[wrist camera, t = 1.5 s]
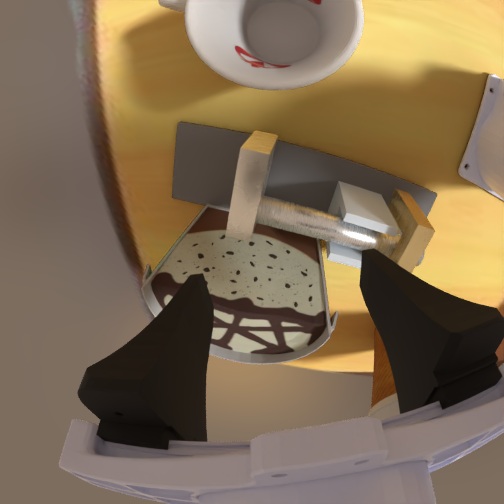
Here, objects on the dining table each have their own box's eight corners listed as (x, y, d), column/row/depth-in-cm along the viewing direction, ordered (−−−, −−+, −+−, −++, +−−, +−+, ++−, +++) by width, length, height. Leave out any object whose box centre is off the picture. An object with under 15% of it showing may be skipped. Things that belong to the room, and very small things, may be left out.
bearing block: (337, 178, 21) (346, 212, 16) (380, 192, 21) (398, 229, 16) (324, 218, 23) (327, 259, 18) (364, 230, 23) (375, 272, 18)
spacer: (395, 188, 19) (418, 224, 14) (409, 193, 19) (435, 230, 14) (366, 252, 22) (376, 298, 18) (379, 256, 22) (392, 302, 18)
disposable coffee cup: (357, 356, 32) (360, 445, 23) (364, 302, 27) (375, 412, 18) (427, 349, 30) (442, 433, 21) (447, 295, 25) (479, 393, 15)
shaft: (255, 130, 19) (240, 147, 15) (425, 183, 18) (451, 214, 14) (241, 201, 22) (225, 236, 18) (396, 244, 22) (411, 284, 18)
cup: (177, 56, 17) (114, 56, 11) (212, -33, 12) (165, -72, 6) (316, 102, 18) (324, 119, 11) (358, 11, 13) (389, -20, 7)
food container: (188, 253, 28) (146, 339, 20) (190, 199, 23) (133, 286, 16) (313, 284, 27) (306, 380, 20) (335, 234, 23) (338, 338, 16)
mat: (180, 121, 20) (177, 122, 20) (435, 192, 19) (437, 194, 19) (173, 195, 24) (171, 197, 24) (403, 256, 23) (404, 258, 23)
